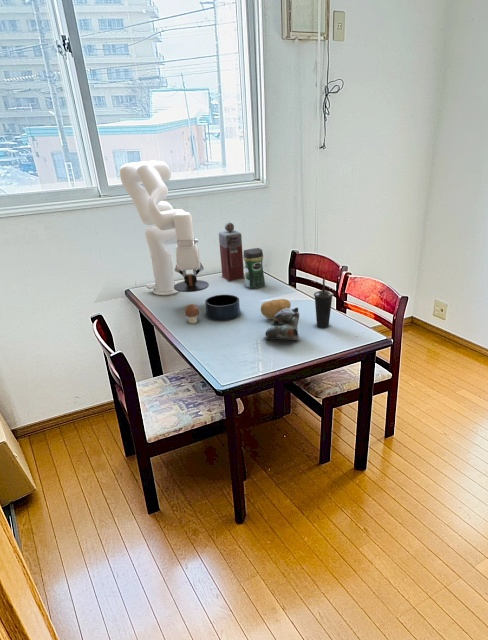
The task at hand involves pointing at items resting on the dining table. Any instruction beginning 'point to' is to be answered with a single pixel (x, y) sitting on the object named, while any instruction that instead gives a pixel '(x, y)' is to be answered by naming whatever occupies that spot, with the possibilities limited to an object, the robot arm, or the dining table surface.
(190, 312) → the mushroom
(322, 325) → the drinking cup
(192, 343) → the dining table surface
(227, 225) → the vintage gas pump model
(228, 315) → the pan
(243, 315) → the dining table surface
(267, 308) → the potato
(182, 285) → the pan lid
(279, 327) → the lucky cat figurine
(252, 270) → the coffee jar
